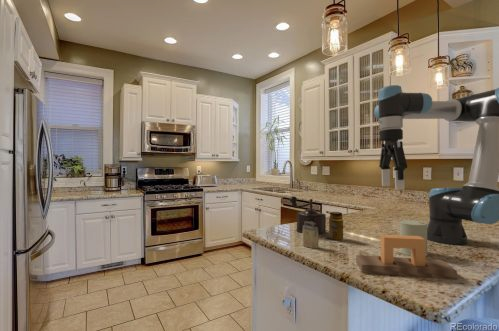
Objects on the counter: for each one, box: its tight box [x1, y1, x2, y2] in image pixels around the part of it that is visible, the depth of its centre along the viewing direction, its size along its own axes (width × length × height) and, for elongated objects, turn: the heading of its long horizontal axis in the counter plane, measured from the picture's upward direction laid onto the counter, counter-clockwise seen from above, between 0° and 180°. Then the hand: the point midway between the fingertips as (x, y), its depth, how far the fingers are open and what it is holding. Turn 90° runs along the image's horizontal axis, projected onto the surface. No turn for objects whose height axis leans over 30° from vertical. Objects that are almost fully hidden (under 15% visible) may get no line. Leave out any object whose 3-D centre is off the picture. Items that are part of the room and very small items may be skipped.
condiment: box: [322, 211, 348, 243], centre depth 121 cm, size 7×8×12 cm
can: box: [399, 219, 429, 257], centre depth 102 cm, size 9×9×12 cm
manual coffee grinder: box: [288, 195, 327, 235], centre depth 133 cm, size 16×11×18 cm
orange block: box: [380, 234, 426, 266], centre depth 85 cm, size 12×4×10 cm, turn 79°
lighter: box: [302, 221, 319, 249], centre depth 110 cm, size 7×4×10 cm, turn 42°
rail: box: [355, 254, 458, 280], centre depth 85 cm, size 26×9×2 cm, turn 79°
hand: (392, 187), depth 99 cm, fingers open, 13 cm apart
